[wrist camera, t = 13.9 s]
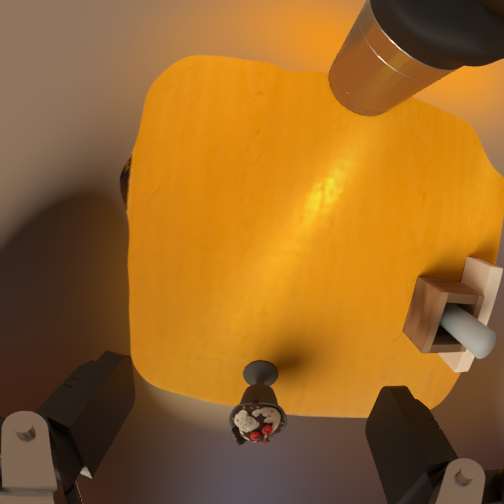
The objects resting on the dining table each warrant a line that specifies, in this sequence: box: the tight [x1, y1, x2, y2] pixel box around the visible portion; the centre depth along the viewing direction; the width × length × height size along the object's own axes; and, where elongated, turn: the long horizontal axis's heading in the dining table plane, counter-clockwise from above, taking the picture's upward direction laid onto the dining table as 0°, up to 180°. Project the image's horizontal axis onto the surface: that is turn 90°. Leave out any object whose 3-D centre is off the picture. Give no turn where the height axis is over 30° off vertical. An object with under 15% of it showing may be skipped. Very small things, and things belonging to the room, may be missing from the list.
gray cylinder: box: [439, 302, 496, 359], centre depth 30 cm, size 4×4×12 cm
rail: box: [438, 257, 503, 372], centre depth 33 cm, size 16×3×6 cm, turn 173°
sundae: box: [230, 361, 287, 445], centre depth 32 cm, size 7×7×15 cm
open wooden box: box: [403, 277, 485, 353], centre depth 33 cm, size 8×8×7 cm
